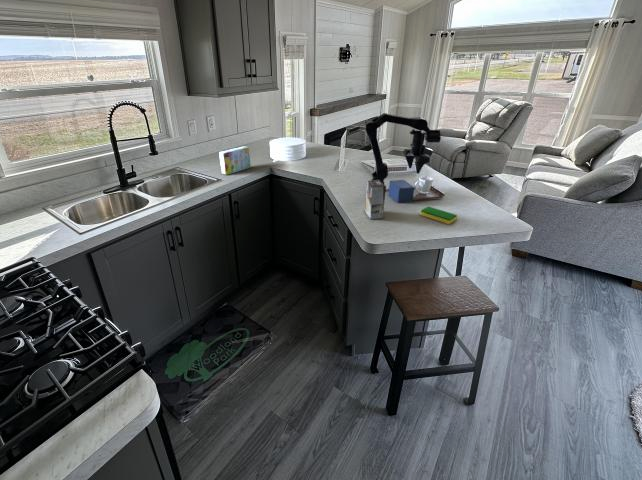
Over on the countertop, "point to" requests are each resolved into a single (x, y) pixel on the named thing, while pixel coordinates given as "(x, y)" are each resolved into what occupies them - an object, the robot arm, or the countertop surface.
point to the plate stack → (287, 149)
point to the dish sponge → (438, 215)
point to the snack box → (234, 160)
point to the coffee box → (375, 199)
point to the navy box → (411, 192)
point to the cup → (424, 184)
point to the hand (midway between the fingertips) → (414, 170)
